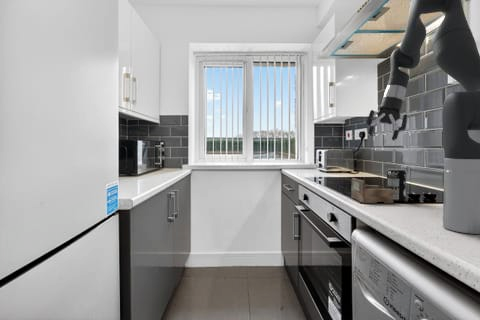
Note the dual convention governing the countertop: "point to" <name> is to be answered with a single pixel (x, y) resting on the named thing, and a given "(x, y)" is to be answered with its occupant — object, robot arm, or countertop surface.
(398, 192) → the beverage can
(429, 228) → the countertop surface
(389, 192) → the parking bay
